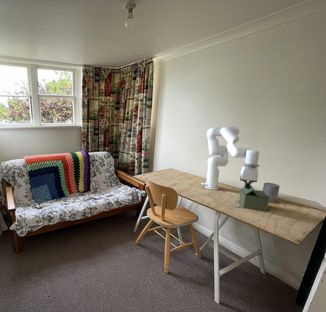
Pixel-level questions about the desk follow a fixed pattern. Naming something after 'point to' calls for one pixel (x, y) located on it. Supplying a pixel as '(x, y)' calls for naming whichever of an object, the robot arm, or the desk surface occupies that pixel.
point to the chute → (254, 200)
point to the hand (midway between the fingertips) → (247, 188)
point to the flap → (247, 189)
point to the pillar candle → (271, 191)
